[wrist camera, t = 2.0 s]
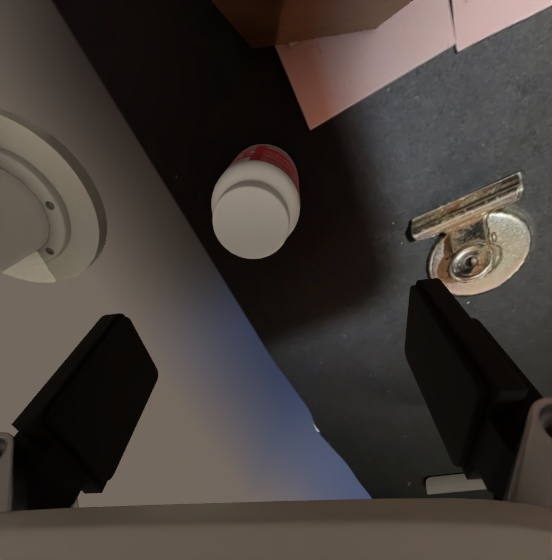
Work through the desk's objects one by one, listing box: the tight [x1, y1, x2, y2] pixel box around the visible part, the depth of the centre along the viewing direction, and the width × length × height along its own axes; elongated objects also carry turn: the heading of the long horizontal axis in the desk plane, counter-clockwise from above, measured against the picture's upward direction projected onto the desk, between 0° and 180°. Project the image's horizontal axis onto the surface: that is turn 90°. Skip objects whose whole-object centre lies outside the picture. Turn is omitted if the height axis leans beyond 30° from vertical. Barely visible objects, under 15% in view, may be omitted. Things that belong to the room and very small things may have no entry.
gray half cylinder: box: [426, 474, 487, 494], centre depth 53 cm, size 4×20×2 cm, turn 108°
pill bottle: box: [211, 144, 300, 259], centre depth 23 cm, size 6×6×11 cm
